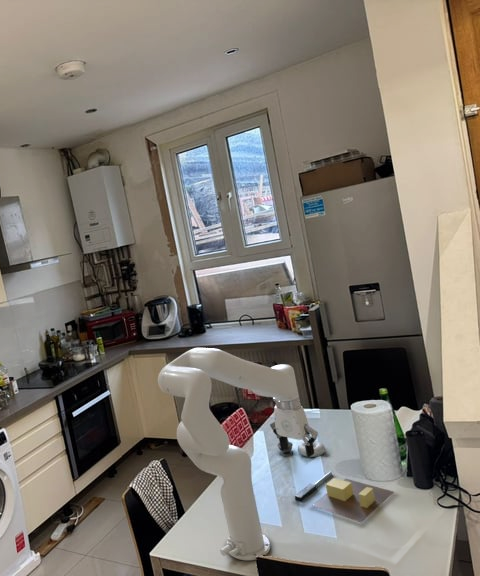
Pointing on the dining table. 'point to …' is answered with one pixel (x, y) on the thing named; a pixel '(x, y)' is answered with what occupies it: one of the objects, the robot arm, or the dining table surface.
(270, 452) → the dining table surface
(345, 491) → the butter block
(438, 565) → the dining table surface
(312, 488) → the knife
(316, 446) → the donut
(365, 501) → the butter pat
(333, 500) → the butter board
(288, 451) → the grey chess piece
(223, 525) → the dining table surface
